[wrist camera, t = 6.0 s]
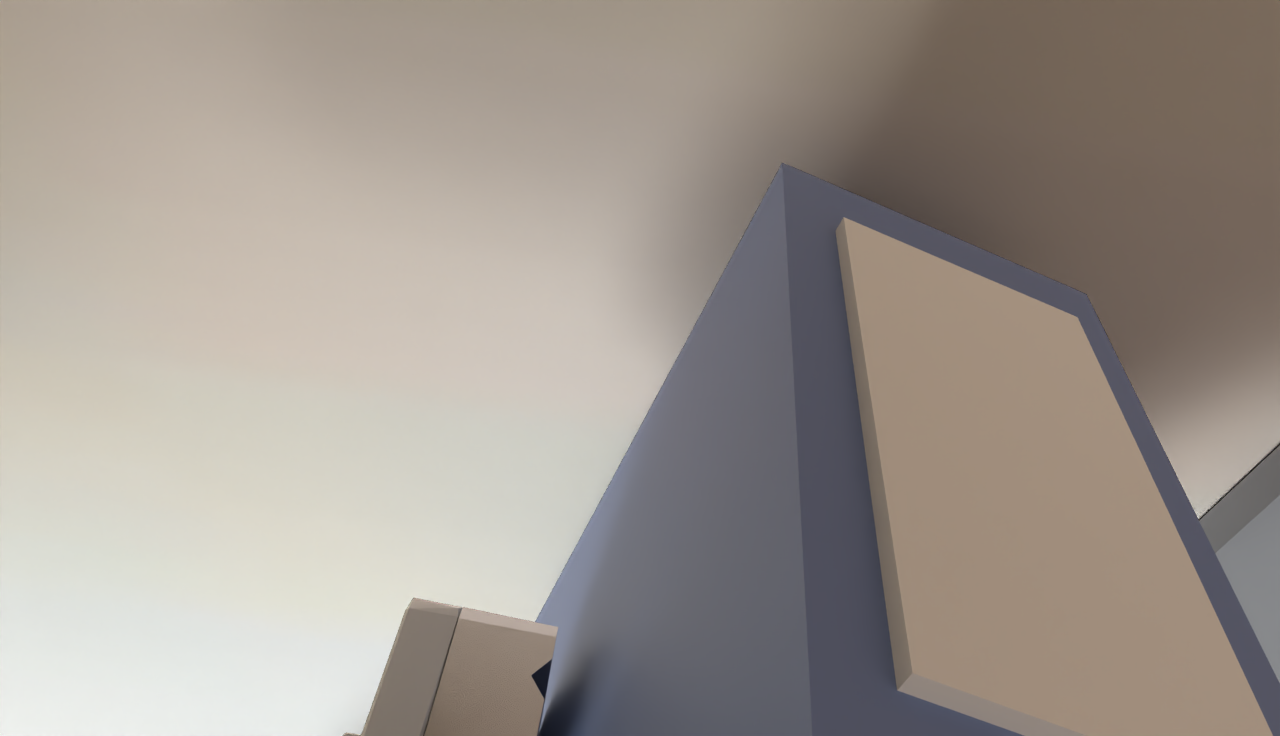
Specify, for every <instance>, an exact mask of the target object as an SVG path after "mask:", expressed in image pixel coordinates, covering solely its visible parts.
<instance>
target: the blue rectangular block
mask: <svg viewBox="0 0 1280 736" xmlns="http://www.w3.org/2000/svg"><path fill="white" fill-rule="evenodd" d="M535 622H537V623H541V624H546V625H551V626H556V627H558V632H557V638H556V643H555V648H554V654H553V659H552V665H551V670H550V676H549V681H548V687H547V692H546V697H545V703H544V708H543V713H542V719H541V724H540V730H539V735H538V736H1280V683H1279V681H1278V679H1277V677H1276V675H1275V673H1274V671H1273V669H1272V667H1271V665H1270V663H1269V661H1268V659H1267V657H1266V655H1265V653H1264V651H1263V649H1262V647H1261V645H1260V643H1259V641H1258V639H1257V637H1256V635H1255V633H1254V631H1253V629H1252V627H1251V625H1250V623H1249V621H1248V619H1247V617H1246V614H1245V612H1244V610H1243V608H1242V606H1241V604H1240V602H1239V600H1238V598H1237V596H1236V594H1235V592H1234V590H1233V588H1232V586H1231V584H1230V582H1229V580H1228V578H1227V576H1226V574H1225V572H1224V570H1223V568H1222V566H1221V564H1220V562H1219V560H1218V558H1217V556H1216V554H1215V552H1214V550H1213V548H1212V546H1211V544H1210V542H1209V540H1208V538H1207V536H1206V534H1205V532H1204V530H1203V528H1202V526H1201V524H1200V522H1199V520H1198V518H1197V516H1196V514H1195V512H1194V510H1193V508H1192V506H1191V504H1190V502H1189V500H1188V498H1187V496H1186V494H1185V492H1184V490H1183V488H1182V486H1181V484H1180V482H1179V480H1178V478H1177V476H1176V474H1175V472H1174V469H1173V467H1172V465H1171V463H1170V461H1169V459H1168V457H1167V455H1166V453H1165V451H1164V449H1163V447H1162V445H1161V443H1160V441H1159V439H1158V437H1157V435H1156V433H1155V431H1154V429H1153V427H1152V425H1151V423H1150V421H1149V419H1148V417H1147V415H1146V413H1145V411H1144V409H1143V407H1142V405H1141V403H1140V401H1139V399H1138V397H1137V395H1136V393H1135V391H1134V389H1133V387H1132V385H1131V383H1130V381H1129V379H1128V377H1127V375H1126V373H1125V371H1124V369H1123V367H1122V365H1121V363H1120V361H1119V359H1118V357H1117V355H1116V353H1115V351H1114V349H1113V347H1112V345H1111V343H1110V341H1109V339H1108V337H1107V335H1106V333H1105V331H1104V329H1103V327H1102V325H1101V322H1100V320H1099V318H1098V316H1097V314H1096V312H1095V310H1094V308H1093V306H1092V304H1091V302H1090V300H1089V298H1088V296H1087V294H1085V293H1083V292H1080V291H1078V290H1076V289H1073V288H1071V287H1069V286H1066V285H1064V284H1062V283H1060V282H1057V281H1055V280H1053V279H1050V278H1048V277H1046V276H1043V275H1041V274H1039V273H1036V272H1034V271H1032V270H1029V269H1027V268H1025V267H1023V266H1020V265H1018V264H1016V263H1013V262H1011V261H1009V260H1006V259H1004V258H1002V257H999V256H997V255H995V254H992V253H990V252H988V251H986V250H983V249H981V248H979V247H976V246H974V245H972V244H969V243H967V242H965V241H962V240H960V239H958V238H956V237H953V236H951V235H949V234H946V233H944V232H942V231H939V230H937V229H935V228H932V227H930V226H928V225H925V224H923V223H921V222H919V221H916V220H914V219H912V218H909V217H907V216H905V215H902V214H900V213H898V212H895V211H893V210H891V209H888V208H886V207H884V206H882V205H879V204H877V203H875V202H872V201H870V200H868V199H865V198H863V197H861V196H858V195H856V194H854V193H852V192H849V191H847V190H845V189H842V188H840V187H838V186H835V185H833V184H831V183H828V182H826V181H824V180H821V179H819V178H817V177H815V176H812V175H810V174H808V173H805V172H803V171H801V170H798V169H796V168H794V167H791V166H789V165H787V164H785V163H782V164H781V166H780V168H779V170H778V172H777V173H776V175H775V177H774V179H773V181H772V183H771V185H770V186H769V188H768V190H767V192H766V194H765V196H764V198H763V199H762V201H761V203H760V205H759V207H758V209H757V211H756V212H755V214H754V216H753V218H752V220H751V222H750V224H749V225H748V227H747V229H746V231H745V233H744V235H743V237H742V239H741V240H740V242H739V244H738V246H737V248H736V250H735V252H734V253H733V255H732V257H731V259H730V261H729V263H728V265H727V266H726V268H725V270H724V272H723V274H722V276H721V278H720V279H719V281H718V283H717V285H716V287H715V289H714V291H713V292H712V294H711V296H710V298H709V300H708V302H707V304H706V305H705V307H704V309H703V311H702V313H701V315H700V317H699V318H698V320H697V322H696V324H695V326H694V328H693V330H692V331H691V333H690V335H689V337H688V339H687V341H686V343H685V344H684V346H683V348H682V350H681V352H680V354H679V356H678V357H677V359H676V361H675V363H674V365H673V367H672V369H671V370H670V372H669V374H668V376H667V378H666V380H665V382H664V383H663V385H662V387H661V389H660V391H659V393H658V395H657V396H656V398H655V400H654V402H653V404H652V406H651V408H650V409H649V411H648V413H647V415H646V417H645V419H644V421H643V422H642V424H641V426H640V428H639V430H638V432H637V434H636V435H635V437H634V439H633V441H632V443H631V445H630V447H629V448H628V450H627V452H626V454H625V456H624V458H623V460H622V461H621V463H620V465H619V467H618V469H617V471H616V473H615V475H614V476H613V478H612V480H611V482H610V484H609V486H608V488H607V489H606V491H605V493H604V495H603V497H602V499H601V501H600V502H599V504H598V506H597V508H596V510H595V512H594V514H593V515H592V517H591V519H590V521H589V523H588V525H587V527H586V528H585V530H584V532H583V534H582V536H581V538H580V540H579V541H578V543H577V545H576V547H575V549H574V551H573V553H572V554H571V556H570V558H569V560H568V562H567V564H566V566H565V567H564V569H563V571H562V573H561V575H560V577H559V579H558V580H557V582H556V584H555V586H554V588H553V590H552V592H551V593H550V595H549V597H548V599H547V601H546V603H545V605H544V606H543V608H542V610H541V612H540V614H539V616H538V618H537V619H536V621H535Z"/></svg>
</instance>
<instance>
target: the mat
mask: <svg viewBox="0 0 1280 736" xmlns="http://www.w3.org/2000/svg"><path fill="white" fill-rule="evenodd" d="M1199 522H1200V524H1201V526H1202V528H1203V530H1204V532H1205V534H1206V536H1207V538H1208V540H1209V542H1210V544H1211V546H1212V548H1213V550H1214V552H1215V554H1216V556H1217V558H1218V560H1219V562H1220V564H1221V566H1222V568H1223V570H1224V572H1225V574H1226V576H1227V578H1228V580H1229V582H1230V584H1231V586H1232V588H1233V590H1234V592H1235V594H1236V596H1237V598H1238V600H1239V602H1240V604H1241V606H1242V608H1243V610H1244V612H1245V614H1246V617H1247V619H1248V621H1249V623H1250V625H1251V627H1252V629H1253V631H1254V633H1255V635H1256V637H1257V639H1258V641H1259V643H1260V645H1261V647H1262V649H1263V651H1264V653H1265V655H1266V657H1267V659H1268V661H1269V663H1270V665H1271V667H1272V669H1273V671H1274V673H1275V675H1276V677H1277V679H1278V681H1279V683H1280V445H1279V446H1278V447H1277V448H1276V449H1275V450H1274V451H1273V452H1272V453H1271V454H1270V455H1269V456H1268V457H1267V458H1265V459H1264V460H1263V461H1262V462H1261V463H1260V464H1259V465H1258V466H1257V467H1256V468H1255V469H1254V470H1253V471H1252V472H1251V473H1249V474H1248V475H1247V476H1246V477H1245V478H1244V479H1243V480H1242V481H1241V482H1240V483H1239V484H1238V485H1237V486H1236V487H1235V488H1233V489H1232V490H1231V491H1230V492H1229V493H1228V494H1227V495H1226V496H1225V497H1224V498H1223V499H1222V500H1221V501H1220V502H1219V503H1217V504H1216V505H1215V506H1214V507H1213V508H1212V509H1211V510H1210V511H1209V512H1208V513H1207V514H1206V515H1205V516H1204V517H1203V518H1201V519H1200V520H1199Z"/></svg>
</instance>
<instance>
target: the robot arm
mask: <svg viewBox="0 0 1280 736" xmlns="http://www.w3.org/2000/svg"><path fill="white" fill-rule="evenodd" d="M557 632H558V627H556V626H551V625H546V624H541V623H537V622H532V621H527V620H522V619H518V618H513V617H508V616H503V615H498V614H494V613H489V612H484V611H479V610H475V609H470V608H465V607H458V606H453V605H448V604H443V603H438V602H433V601H428V600H423V599H418V598H413V599H412V601H411V602H410V604H409V606H408V607H407V609H406V610H405V613H404V616H403V618H402V621H401V624H400V627H399V630H398V633H397V635H396V638H395V641H394V644H393V647H392V650H391V652H390V655H389V658H388V661H387V664H386V667H385V669H384V672H383V675H382V678H381V681H380V684H379V686H378V689H377V692H376V695H375V698H374V700H373V703H372V706H371V709H370V712H369V715H368V717H367V720H366V723H365V726H364V729H363V732H362V734H361V735H359V734H352V733H345V734H344V735H343V736H538V735H539V730H540V724H541V719H542V713H543V708H544V703H545V697H546V692H547V687H548V681H549V676H550V670H551V665H552V659H553V654H554V648H555V643H556V638H557Z"/></svg>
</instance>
